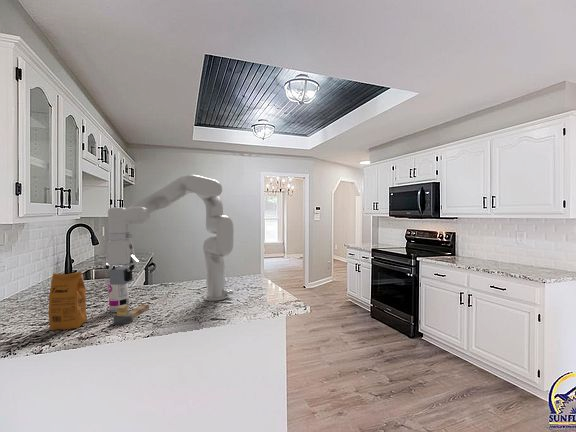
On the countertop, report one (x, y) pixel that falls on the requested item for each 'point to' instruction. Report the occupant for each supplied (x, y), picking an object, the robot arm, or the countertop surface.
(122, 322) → the wooden handled hammer
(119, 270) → the blue gray cube
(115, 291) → the supplement can
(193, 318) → the countertop surface
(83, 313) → the coffee package
